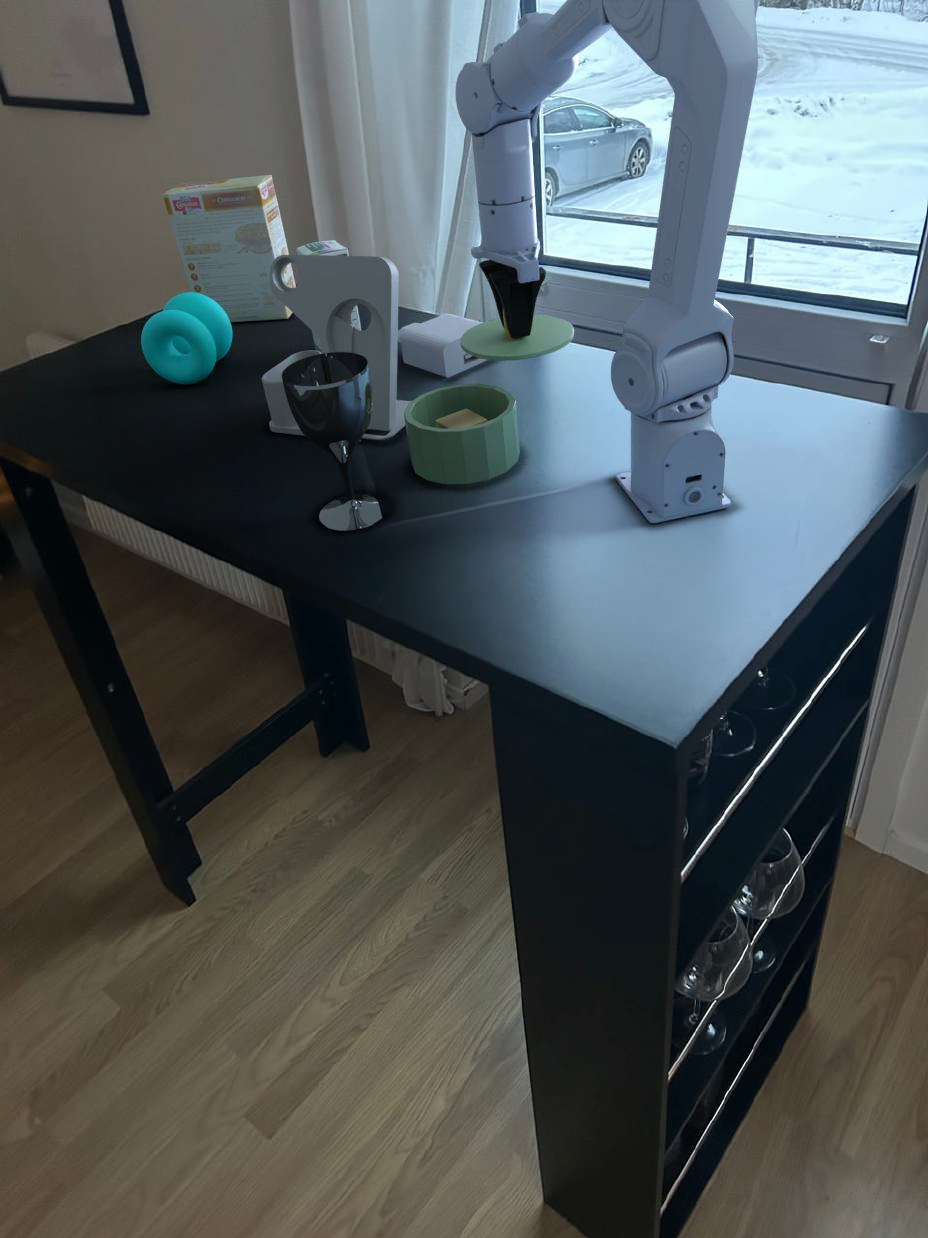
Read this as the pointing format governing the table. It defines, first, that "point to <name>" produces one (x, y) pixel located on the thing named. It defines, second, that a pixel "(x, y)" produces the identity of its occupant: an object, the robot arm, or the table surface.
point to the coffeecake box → (231, 243)
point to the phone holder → (342, 328)
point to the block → (460, 420)
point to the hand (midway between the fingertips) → (516, 331)
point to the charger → (438, 345)
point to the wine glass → (335, 424)
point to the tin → (463, 434)
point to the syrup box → (332, 250)
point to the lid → (517, 339)
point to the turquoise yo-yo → (187, 338)
